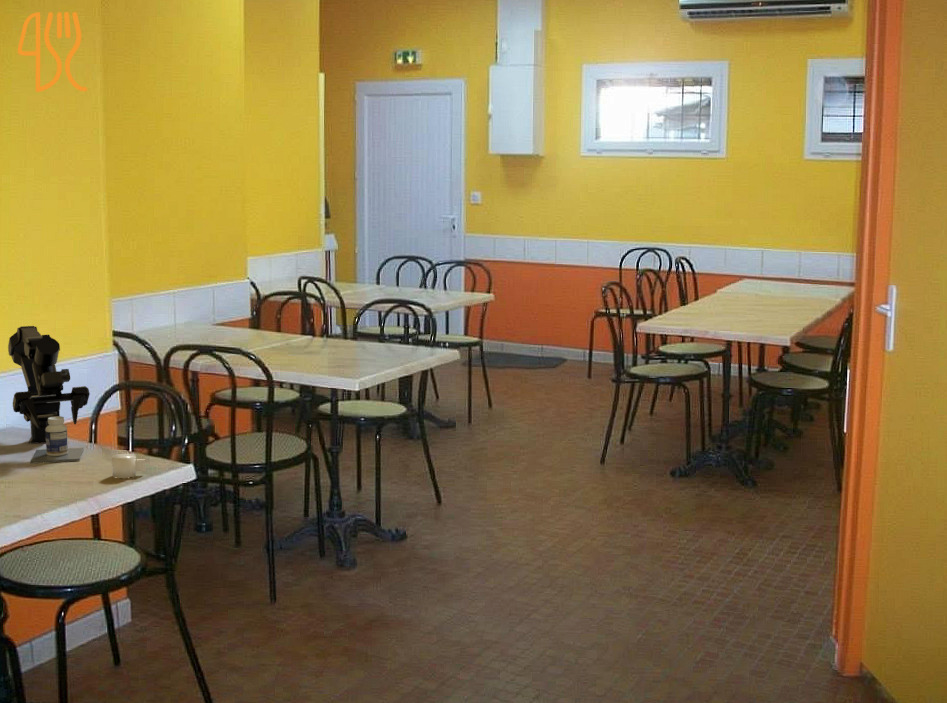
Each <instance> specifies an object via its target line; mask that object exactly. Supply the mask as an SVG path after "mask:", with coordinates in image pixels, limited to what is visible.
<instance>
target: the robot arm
mask: <svg viewBox="0 0 947 703" xmlns="http://www.w3.org/2000/svg"><path fill="white" fill-rule="evenodd" d="M7 348H8V350H7V351H8V355H9V357H11V360H12V361H13V363H14V364H16V365H18V366H20V368H21V370H22V374H23V378H24V381H25V384H26V388H27V391H16V392H15V393H14V394H13V399H12V409H13V412H15V413H19V415H23V420H25V421H26V422H27V423H29V422H30V438H29V440H28V444H39V443H41V442H46V432H45V429H46V427H47V426H49V424H48V418H49V417H54V416H61V415H60V413H61V412H60V410H61V402H70V405H71V407H70V409H71V416H72V421H73V424H74V425H77V421H78V413H79V410H80V409H82V408H83V407H84V406H87V405H88V403H89V402H88V401H89V398H90V395H91V393H90V390H89V387H87V386H84V385H83V386H75V387H72V389H71V392H65V393H62V391H63V390H64V383H69V382H70V380H71V373H70V370H69V368H64V369H63V368H61V370H58V371H57V367H56V365H57V363H58V359H59V358H58V357H59V354H60V351H61V345H60V343H59V341H58V340H56V339H55V338H53V337H52V336H51V335H50V334H41V333H40V332H39V331H38V327H37V326H34V325H26V326H25V325H24V326H20V327H17V330H16V332H15V333H14V334H12V335H11V336H10V337H9V338H8V344H7ZM41 444H42V443H41Z"/></svg>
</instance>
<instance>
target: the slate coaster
mask: <svg viewBox="0 0 947 703" xmlns="http://www.w3.org/2000/svg"><path fill="white" fill-rule="evenodd" d="M83 453H84V447H68V453H67V454H66V455H62V456H49V455H47V450H46V448H45V449H36V450H35V452H34V453H33V455H32V457H31V459H30V464H42V463H43V462H44V463H45V464H46V463H47V464H48V463H62V462H63V463H66V462H65V461H69V462H80V461H81V459H82V456H83Z"/></svg>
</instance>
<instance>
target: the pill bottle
mask: <svg viewBox="0 0 947 703" xmlns="http://www.w3.org/2000/svg"><path fill="white" fill-rule="evenodd" d="M64 423H65V417H64V416H62V415H60V416H54V417H49V418H48V424H49V426H47V427H46V429H45V432H46V443H45V447H46V448H45V449H46V450H47V455H49V456H62V455H66V454H67V453H68V448H69V443H68V440H69V439H68V438H69V436H68V427H67V425H65V424H64Z"/></svg>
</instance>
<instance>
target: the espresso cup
mask: <svg viewBox="0 0 947 703" xmlns="http://www.w3.org/2000/svg"><path fill="white" fill-rule="evenodd" d="M111 467H112V468H111V470H112V471H111V472H112V478H113V477H117V478H128V477H133V478H135V477H137V472H146V459H145V458H137V459H136V454H133V453H117V454H113V455H112V456H111ZM134 476H135V477H134ZM128 479H129V478H128Z"/></svg>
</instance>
